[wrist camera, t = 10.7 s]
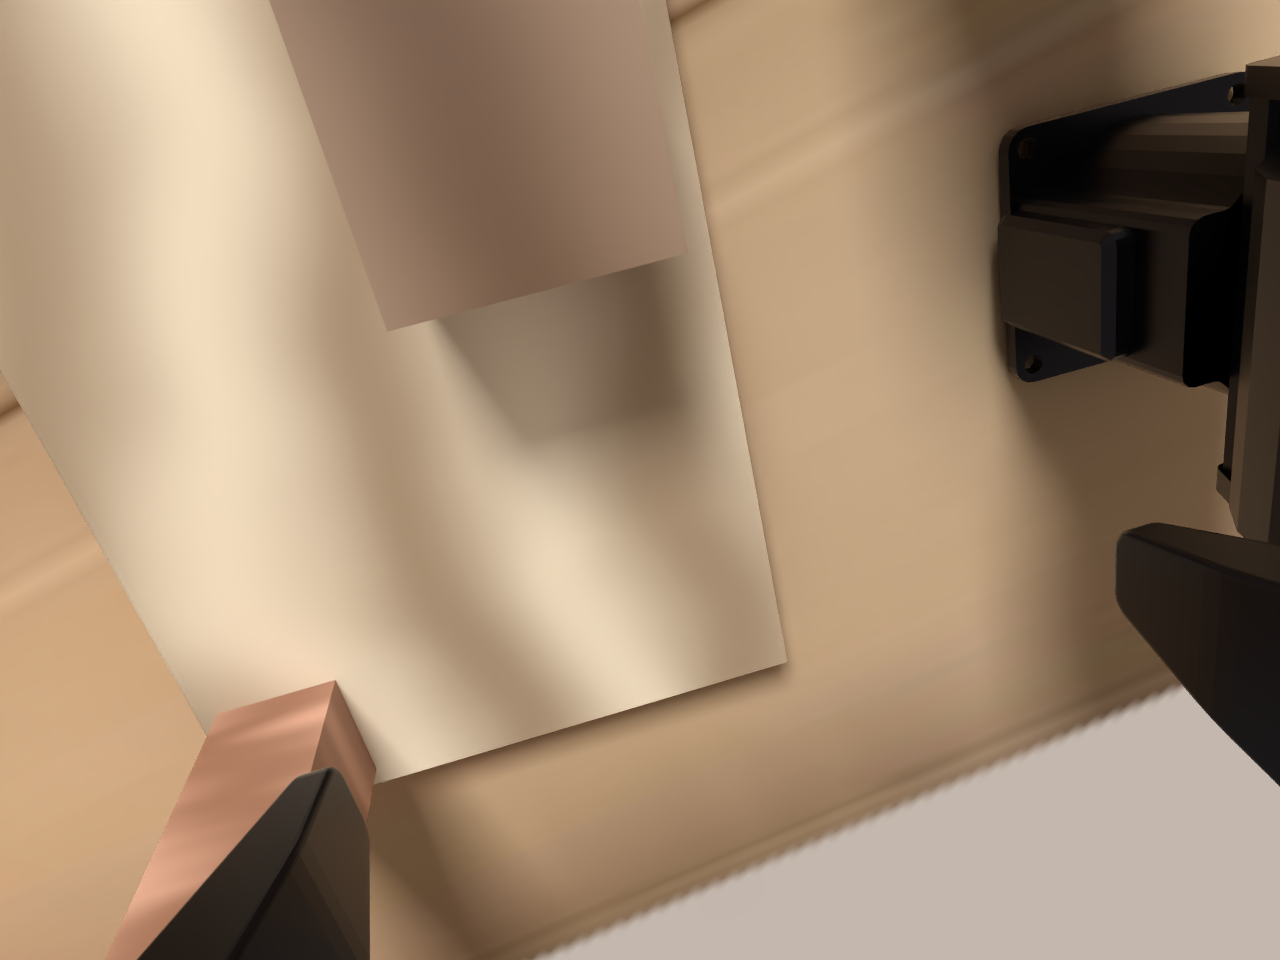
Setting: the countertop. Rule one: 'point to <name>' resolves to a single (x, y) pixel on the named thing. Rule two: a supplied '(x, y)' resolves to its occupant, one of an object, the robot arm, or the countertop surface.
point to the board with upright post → (351, 432)
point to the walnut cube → (486, 143)
